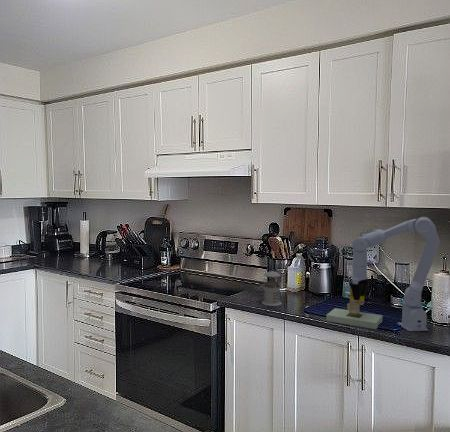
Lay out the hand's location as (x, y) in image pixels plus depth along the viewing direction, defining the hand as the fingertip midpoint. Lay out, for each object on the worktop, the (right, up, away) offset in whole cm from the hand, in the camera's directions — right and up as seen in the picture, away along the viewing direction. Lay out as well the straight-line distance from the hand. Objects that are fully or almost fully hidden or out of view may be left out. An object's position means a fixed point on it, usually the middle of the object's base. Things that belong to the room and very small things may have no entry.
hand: (358, 298), depth 179 cm
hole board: (-2, -9, -1) cm, 10 cm away
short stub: (0, -9, +10) cm, 14 cm away
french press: (-33, -8, +27) cm, 43 cm away
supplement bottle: (+7, -8, +26) cm, 28 cm away
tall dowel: (-2, -9, -1) cm, 10 cm away
